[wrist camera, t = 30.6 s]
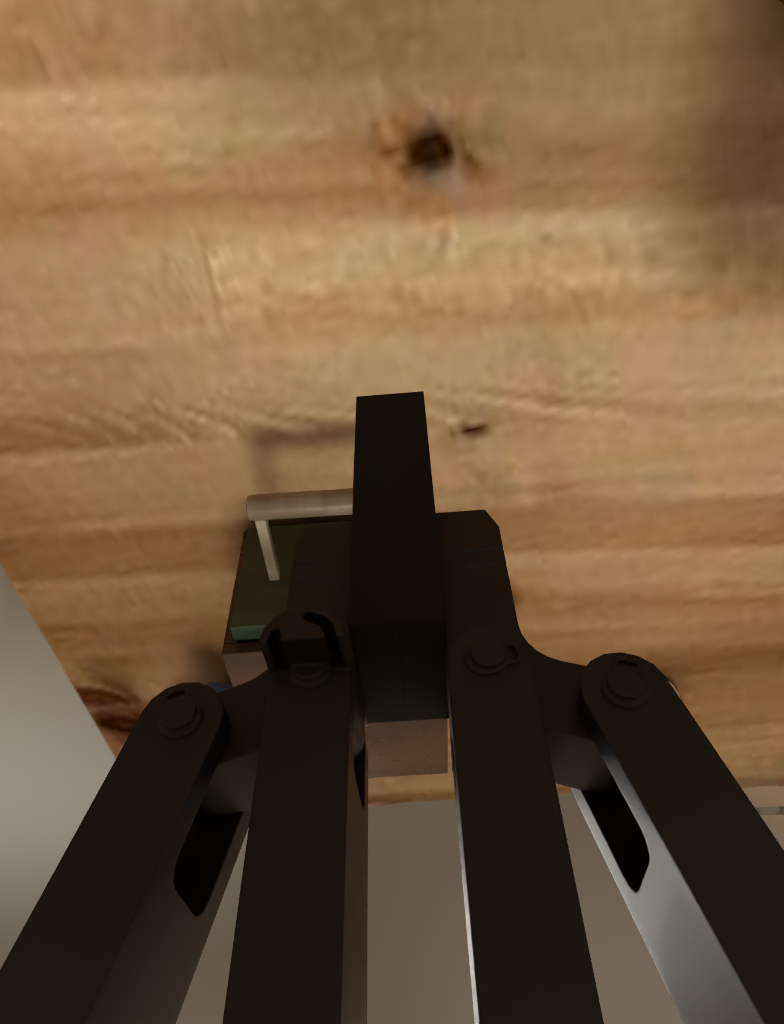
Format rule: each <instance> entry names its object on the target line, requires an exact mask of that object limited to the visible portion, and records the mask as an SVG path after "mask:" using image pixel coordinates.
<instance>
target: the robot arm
mask: <svg viewBox="0 0 784 1024" xmlns="http://www.w3.org/2000/svg"><path fill="white" fill-rule="evenodd" d="M781 2H782V3H783V5H784V0H781ZM290 580H291V584H290V587H289V595H288V603H287V610H286V611H284V612H282V613H281V614H279V615H277V616H275V617H274V618H273V619H272V620H271V621H270V622H269V623H268V624H267V625H266V626H265V627H264V629H263V632H262V634H261V637H260V639H259V643H260V646H261V649H262V652H263V655H264V658H265V661H266V664H267V667H268V669H267V670H266V671H264V672H263V673H262V674H260V675H259V676H257V677H256V678H254V679H252V680H250V681H248V682H245V683H243V684H240V685H237V686H235V687H232V688H229V689H226V690H223V691H221V692H218V693H216V691H215V690H214V689H213V688H212V687H210V686H207V685H204V684H201V683H199V682H195V683H181V684H178V685H175V686H172V687H170V688H167V689H165V690H164V691H163V692H161V693H160V694H158V695H157V696H156V697H154V698H153V699H152V700H151V701H150V703H149V704H148V705H147V706H146V708H145V709H144V710H143V712H142V713H141V715H140V717H139V719H138V720H137V722H136V724H135V726H134V728H133V730H132V731H131V733H130V735H129V737H128V739H127V740H126V742H125V744H124V746H123V748H122V750H121V751H120V753H119V755H118V757H117V759H116V760H115V762H114V764H113V766H112V768H111V770H110V771H109V773H108V775H107V777H106V779H105V780H104V782H103V784H102V786H101V788H100V790H99V791H98V793H97V795H96V797H95V799H94V801H93V802H92V804H91V806H90V808H89V810H88V811H87V813H86V815H85V817H84V819H83V821H82V822H81V824H80V826H79V828H78V830H77V832H76V833H75V835H74V837H73V839H72V840H71V842H70V844H69V846H68V848H67V850H66V851H65V853H64V855H63V857H62V859H61V860H60V862H59V864H58V866H57V868H56V870H55V872H54V873H53V875H52V877H51V879H50V880H49V882H48V884H47V886H46V888H45V890H44V891H43V893H42V895H41V897H40V899H39V901H38V902H37V904H36V906H35V908H34V910H33V911H32V913H31V915H30V917H29V919H28V921H27V923H26V924H25V926H24V928H23V930H22V931H21V933H20V935H19V937H18V939H17V941H16V942H15V944H14V946H13V948H12V950H11V951H10V953H9V955H8V957H7V959H6V961H5V962H4V964H3V966H2V968H1V970H0V1024H176V1021H177V1018H178V1016H179V1013H180V1010H181V1008H182V1005H183V1002H184V1000H185V997H186V994H187V992H188V989H189V986H190V983H191V981H192V978H193V975H194V973H195V970H196V967H197V965H198V962H199V959H200V957H201V954H202V951H203V948H204V946H205V943H206V940H207V938H208V935H209V932H210V930H211V927H212V924H213V921H214V919H215V916H216V914H217V911H218V908H219V905H220V903H221V900H222V897H223V895H224V892H225V889H226V887H227V884H228V881H229V879H230V876H231V873H232V870H233V868H234V865H235V862H236V859H237V857H238V854H239V851H240V849H241V846H242V843H243V841H244V838H245V835H246V832H247V830H248V827H249V830H248V838H247V845H246V852H245V860H244V867H243V875H242V882H241V890H240V897H239V905H238V912H237V920H236V927H235V935H234V942H233V950H232V958H231V964H230V972H229V979H228V987H227V995H226V1002H225V1009H224V1017H223V1024H367V889H368V888H367V887H368V884H367V883H368V880H367V878H368V872H367V871H368V750H367V745H366V740H365V716H366V721H367V723H383V722H399V721H415V720H431V719H447V718H449V724H450V737H451V756H452V771H453V776H454V788H455V799H456V811H457V822H458V833H459V846H460V857H461V869H462V880H463V892H464V903H465V915H466V926H467V938H468V948H469V961H470V973H471V984H472V996H473V1007H474V1019H475V1024H604V1023H603V1018H602V1013H601V1008H600V1003H599V998H598V993H597V988H596V983H595V978H594V973H593V968H592V963H591V958H590V953H589V949H588V944H587V938H586V933H585V928H584V923H583V918H582V913H581V908H580V903H579V898H578V893H577V889H576V883H575V879H574V874H573V869H572V864H571V859H570V854H569V849H568V844H567V839H566V834H565V829H564V824H563V819H562V814H561V809H560V804H559V799H558V794H557V789H556V784H555V783H557V784H560V785H564V786H568V787H570V789H571V791H572V793H573V795H574V797H575V799H576V801H577V803H578V805H579V807H580V809H581V811H582V813H583V815H584V818H585V820H586V822H587V824H588V826H589V828H590V830H591V832H592V834H593V836H594V838H595V840H596V842H597V845H598V847H599V849H600V851H601V853H602V855H603V857H604V859H605V861H606V863H607V865H608V867H609V869H610V871H611V874H612V876H613V877H614V880H615V882H616V884H617V886H618V888H619V890H620V892H621V894H622V896H623V898H624V901H625V903H626V905H627V907H628V909H629V911H630V913H631V915H632V917H633V919H634V921H635V923H636V925H637V927H638V930H639V932H640V934H641V936H642V938H643V940H644V942H645V944H646V946H647V948H648V950H649V952H650V955H651V957H652V959H653V961H654V963H655V965H656V967H657V969H658V971H659V973H660V975H661V977H662V979H663V982H664V984H665V985H666V988H667V990H668V992H669V994H670V996H671V998H672V1000H673V1002H674V1004H675V1006H676V1008H677V1010H678V1012H679V1015H680V1017H681V1019H682V1021H683V1023H684V1024H784V850H783V849H782V848H781V846H780V844H779V843H778V841H777V840H776V839H775V837H774V836H773V834H772V833H771V831H770V830H769V828H768V827H767V825H766V824H765V822H764V821H763V819H762V818H761V816H760V815H759V814H758V812H757V811H756V809H755V808H754V806H753V805H752V803H751V802H750V800H749V799H748V797H747V796H746V795H745V793H744V791H743V790H742V789H741V787H740V786H739V784H738V783H737V781H736V780H735V778H734V777H733V775H732V774H731V772H730V771H729V769H728V768H727V766H726V765H725V764H724V762H723V761H722V759H721V758H720V756H719V755H718V753H717V752H716V750H715V749H714V747H713V746H712V744H711V743H710V741H709V740H708V739H707V737H706V736H705V734H704V733H703V731H702V730H701V728H700V727H699V725H698V724H697V722H696V721H695V719H694V718H693V717H692V715H691V714H690V712H689V711H688V709H687V708H686V706H685V705H684V703H683V702H682V700H681V699H680V697H679V696H678V694H677V693H676V692H675V690H674V689H673V687H672V686H671V684H670V683H669V681H668V680H667V678H666V677H665V676H664V675H663V674H662V673H661V672H660V671H659V670H658V669H657V668H656V666H655V665H654V664H652V663H650V662H648V661H646V660H644V659H642V658H641V657H639V656H635V655H630V654H626V653H611V654H604V655H602V656H600V657H597V658H595V659H593V660H591V661H590V663H589V664H588V665H587V666H582V665H577V664H573V663H568V662H563V661H559V660H556V659H553V658H550V657H547V656H546V655H544V654H542V653H540V652H538V651H537V650H535V649H534V648H533V647H532V646H531V645H530V644H529V643H528V642H527V641H526V640H525V638H524V637H523V635H522V634H521V631H520V628H519V626H518V622H517V617H516V611H515V606H514V601H513V596H512V591H511V586H510V581H509V576H508V571H507V567H506V561H505V556H504V551H503V546H502V541H501V536H500V530H499V526H498V525H497V524H496V523H495V521H494V520H493V519H492V518H491V517H490V515H489V514H488V513H487V512H486V511H485V510H473V511H459V512H446V513H435V505H434V495H433V485H432V474H431V464H430V454H429V444H428V434H427V423H426V413H425V403H424V393H423V391H422V392H409V393H397V394H385V395H373V396H360V397H357V399H356V426H355V452H354V479H353V505H352V521H346V522H333V523H319V524H308V525H307V526H306V528H305V529H304V530H303V532H302V533H301V535H300V536H299V538H298V539H297V541H296V542H295V547H294V555H293V567H292V571H291V579H290Z"/></svg>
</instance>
